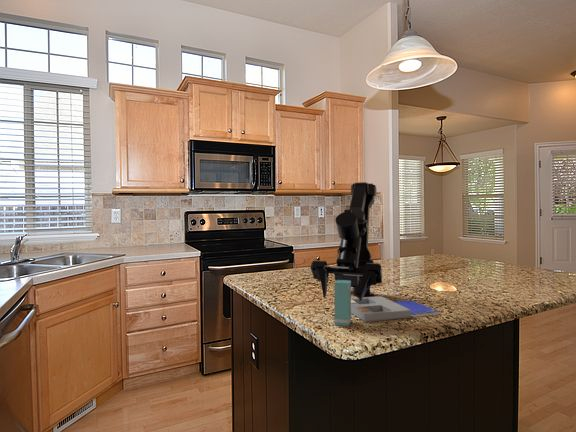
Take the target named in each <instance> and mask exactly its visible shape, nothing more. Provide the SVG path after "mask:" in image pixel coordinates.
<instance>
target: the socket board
mask: <svg viewBox="0 0 576 432" xmlns="http://www.w3.org/2000/svg"><path fill="white" fill-rule="evenodd" d="M395 302H396V301H393V300H391V299H388V298H386V297H384V296H382V295H380V296H379V295H378V296H364V297H363V298H362V300H361V301H359V297H355V298H354V297H353V298H352V297H351V315H353V316H355V317H356V318H358V319H360V320H361V321H363V322H364V323H367V322H368V323H369V322H370V323H371V322H378V321H387V320H388V321H389V320H398V319H399V320H400V319H408V318H410V319H411V318H412V316H411V310H410V309H408V308H406V307H403V306H401V305H399V304H397V303H395Z"/></svg>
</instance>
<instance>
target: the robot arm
mask: <svg viewBox="0 0 576 432" xmlns="http://www.w3.org/2000/svg"><path fill="white" fill-rule="evenodd" d="M377 191H378V190H377V186H376V185H375V184H374V183H369V182H367V181H363V182H359V181H357V182H354V183H352V184H351V185H350V196H351V199H350V204H349V209H344V211H343V212H341V213H339V214H338V215H337V216H336V217H335V224H336V229H337V232H338V237H339V239H340V243H339V247H338V253H337V254H338V255H337V258H336V262H335V263H336V265H328V263H327V260H318V259H317V260H315V259H314V260H313V261H311V262H310V263H311V265H310V270H311V271H310V272H311V274H312V277H313V279H314V280H317V281H318V282H320V284H321V289H322V290H321V291H322V295H323V299H326V297H327V293H328V292H327V290H328V283H329V275H330V274H332V275H334V276H333V277H334V280H335V281H334V282H336V281H337V280H349V281H351V288H352V290H351V295H353V296H356V297H358V298H359V301H361V300H362V298H364V297H371V296H374V295H375V293H374V292H372V291H371V287H372V286H376V285H377V284H382V283H383V270H382V268H383V267H382V265H381V264H380V263H378V262H377V263H376V262H374V259H373V255H372V254H371V253H370V250H369V248H368V247H369V229H370V209H371V208H372V206H373V205H374V203H375V198H376V197H377Z"/></svg>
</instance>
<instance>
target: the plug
mask: <svg viewBox="0 0 576 432" xmlns="http://www.w3.org/2000/svg"><path fill="white" fill-rule="evenodd" d="M351 291H352V287H351V281H349V280H337V281H334V320H333V321H334V326H340V327H341V326H342V327H349V326H350V325H351V323H352V313H351V298H352V293H351Z"/></svg>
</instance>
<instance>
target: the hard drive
mask: <svg viewBox="0 0 576 432" xmlns="http://www.w3.org/2000/svg"><path fill="white" fill-rule="evenodd" d="M394 302H395V303H397V304H399V305H401V306H403V307H406V308H408V309H410V310H411V317H414V318H419V317H428V316H437V315H440V310H437V309H434V308H431V307H430V306H426V305H424V304H421V303H419V302H418V301H415V300H412V299H411V300H410V299H409V300H400V301H394Z"/></svg>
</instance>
